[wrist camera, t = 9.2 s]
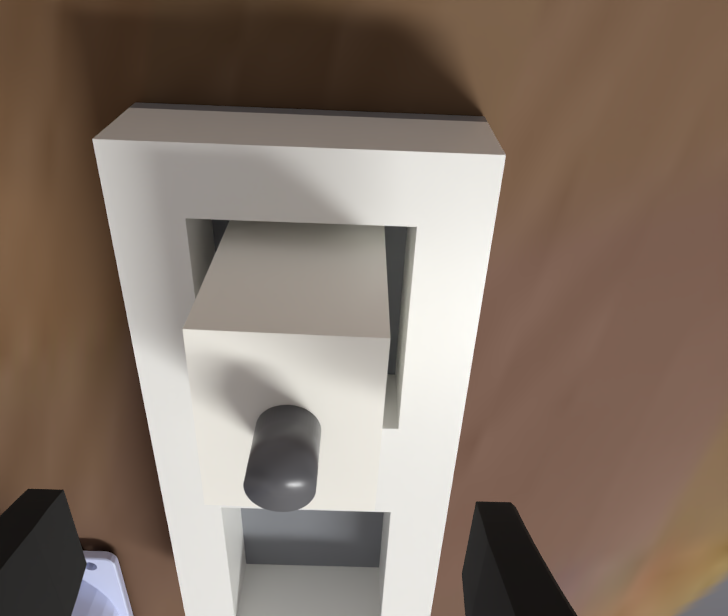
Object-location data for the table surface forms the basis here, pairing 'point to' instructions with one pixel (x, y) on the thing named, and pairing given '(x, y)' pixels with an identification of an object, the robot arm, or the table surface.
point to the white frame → (406, 314)
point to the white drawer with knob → (291, 366)
